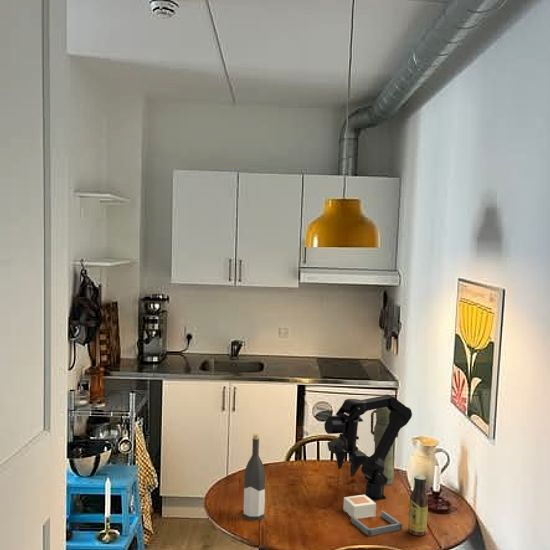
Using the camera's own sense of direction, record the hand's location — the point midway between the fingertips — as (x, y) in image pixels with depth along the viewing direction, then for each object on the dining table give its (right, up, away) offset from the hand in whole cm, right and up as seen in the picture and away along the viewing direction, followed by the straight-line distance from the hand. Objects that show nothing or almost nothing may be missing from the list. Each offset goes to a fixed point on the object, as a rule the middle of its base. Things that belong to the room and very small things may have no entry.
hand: (345, 472), depth 224 cm
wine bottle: (-35, -12, -13) cm, 39 cm away
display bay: (+8, -13, -18) cm, 23 cm away
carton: (+4, -13, -8) cm, 15 cm away
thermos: (+19, -12, +23) cm, 32 cm away
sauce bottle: (+22, -13, -22) cm, 34 cm away
